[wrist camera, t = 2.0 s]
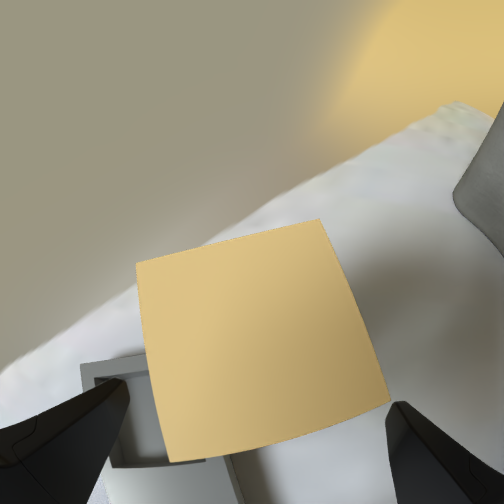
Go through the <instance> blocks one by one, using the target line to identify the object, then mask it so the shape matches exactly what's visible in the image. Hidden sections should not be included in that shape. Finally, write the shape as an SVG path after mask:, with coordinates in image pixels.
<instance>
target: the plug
mask: <svg viewBox="0 0 504 504" xmlns="http://www.w3.org/2000/svg"><path fill="white" fill-rule="evenodd" d="M136 273H137V285H138V296H139V305H140V314H141V322H142V330H143V337H144V344H145V351H146V357H147V363H148V369H149V374H150V380H151V385H152V390H153V395H154V400H155V405H156V409H157V414H158V418H159V422H160V426H161V430H162V434H163V438H164V442H165V446H166V450H167V453H168V457H169V460H170V462H180V461H189V460H196V459H203V458H210V457H216V456H222V455H227V454H232V453H237V452H242V451H247V450H251V449H256V448H260V447H264V446H268V445H272V444H276V443H279V442H283V441H286V440H290V439H293V438H297V437H300V436H303V435H306V434H309V433H312V432H315V431H318V430H321V429H324V428H327V427H330V426H332V425H335V424H338V423H340V422H343V421H346V420H348V419H351V418H353V417H356V416H358V415H360V414H363V413H365V412H367V411H370V410H372V409H374V408H376V407H379V406H381V405H383V404H385V403H387V402H389V401H391V398H390V395H389V392H388V389H387V386H386V383H385V380H384V377H383V374H382V371H381V368H380V365H379V362H378V359H377V356H376V354H375V351H374V348H373V345H372V343H371V340H370V337H369V335H368V332H367V329H366V327H365V324H364V321H363V319H362V316H361V314H360V311H359V309H358V306H357V304H356V301H355V299H354V296H353V294H352V291H351V289H350V286H349V284H348V282H347V279H346V277H345V275H344V272H343V270H342V268H341V265H340V263H339V261H338V258H337V256H336V254H335V252H334V249H333V247H332V245H331V243H330V240H329V238H328V236H327V234H326V232H325V230H324V227H323V225H322V223H321V221H320V219H316V220H311V221H307V222H303V223H298V224H294V225H290V226H285V227H281V228H277V229H273V230H268V231H264V232H260V233H256V234H251V235H247V236H243V237H239V238H235V239H231V240H226V241H222V242H218V243H214V244H210V245H206V246H202V247H198V248H194V249H190V250H186V251H182V252H178V253H174V254H170V255H166V256H162V257H158V258H154V259H150V260H146V261H142V262H139V263H136Z"/></svg>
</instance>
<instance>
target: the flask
mask: <svg viewBox="0 0 504 504" xmlns="http://www.w3.org/2000/svg"><path fill="white" fill-rule="evenodd" d="M453 200H454V202H455V205H456V207H457V209H458V210H459V211H460V212H461V214H462V215H463V216H464V217H466V218H467V219H468V220H469V221H470V222H472V223H473V224H474V225H475V226H476V227H477V228H479V229H480V230H481V231H482V232H483V233H484V234H485V235H486V236H487V237H488V238H489V239H490V240H491V242H492V243H493V244H494V245H495V246H496V247H497V249H498V250H499V251H500V252H501V254H502V255H503V256H504V102H503V105H502V107H501V109H500V111H499V113H498V115H497V117H496V119H495V121H494V123H493V124H492V126H491V128H490V130H489V132H488V134H487V136H486V137H485V139H484V141H483V143H482V145H481V146H480V148H479V150H478V152H477V153H476V155H475V157H474V158H473V160H472V162H471V163H470V165H469V167H468V168H467V170H466V172H465V173H464V175H463V176H462V178H461V180H460V181H459V183H458V184H457V186H456V187H455V189H454V191H453Z"/></svg>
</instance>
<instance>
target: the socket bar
mask: <svg viewBox="0 0 504 504" xmlns="http://www.w3.org/2000/svg"><path fill="white" fill-rule="evenodd" d="M80 371H81V380H82V387H83V393H84V392H86V391H88V390H90V389H92V388H94V387H95V386H97V385H99V384H101V383H103V382H105V381H107V380H109V379H111V378H113V377H117V378H121V379H124V380H125V381H126V383H127V386H128V390H129V394H130V403H129V406H128V409H127V411H126V414H125V417H124V420H123V423H122V426H121V429H120V432H119V435H118V437H117V439H116V441H115V443H114V446H113V448H112V450H111V452H110V454H109V456H108V458H107V460H106V462H105V465H104V467H103V469H102V471H101V473H100V474H101V477H102V481H103V484H104V487H105V490H106V493H107V496H108V499H109V502H110V504H245V501H244V498H243V495H242V492H241V489H240V486H239V483H238V480H237V477H236V474H235V471H234V468H233V464H232V461H231V458H230V455H229V454H227V455H222V456H216V457H210V458H203V459H196V460H189V461H180V462H170V460H169V457H168V453H167V450H166V446H165V442H164V438H163V434H162V430H161V426H160V422H159V418H158V414H157V409H156V405H155V400H154V395H153V390H152V385H151V380H150V374H149V369H148V363H147V357H146V354H141V355H135V356H129V357H124V358H117V359H111V360H105V361H98V362H91V363H84V364H80Z"/></svg>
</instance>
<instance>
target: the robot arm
mask: <svg viewBox="0 0 504 504" xmlns="http://www.w3.org/2000/svg"><path fill="white" fill-rule="evenodd" d="M129 403H130V394H129V390H128V386H127V383H126V381H125V380H124V379H121V378H117V377H113V378H111V379H109V380H107V381H105V382H103V383H101V384H99V385H97V386H95V387H94V388H92V389H90V390H88V391H86V392H84V393H82V394H80V395H78V396H76V397H73V398H71V399H69V400H67V401H65V402H63V403H61V404H59V405H57V406H55V407H53V408H51V409H49V410H47V411H44V412H42V413H40V414H38V415H36V416H34V417H31V418H29V419H27V420H24V421H22V422H20V423H17V424H14V425H11V426H9V427H6V428H2V429H0V504H87V502H88V499H89V497H90V495H91V493H92V491H93V488H94V486H95V484H96V482H97V480H98V477H99V475H100V473H101V471H102V469H103V467H104V465H105V462H106V460H107V458H108V456H109V454H110V452H111V450H112V448H113V446H114V443H115V441H116V439H117V437H118V435H119V432H120V429H121V426H122V423H123V420H124V417H125V414H126V411H127V409H128V406H129ZM385 427H386V435H387V445H388V455H389V462H390V467H391V472H392V477H393V482H394V487H395V492H396V498H397V503H398V504H504V475H503V474H501V473H499V472H498V471H496V470H494V469H493V468H491V467H490V466H488V465H487V464H485V463H484V462H482V461H481V460H480V459H478V458H477V457H476V456H474V455H473V454H472V453H470V452H469V451H468V450H467V449H465V448H464V447H463V446H461V445H460V444H459V443H458V442H456V441H455V440H454V439H452V438H451V437H450V436H449V435H447V434H446V433H445V432H444V431H442V430H441V429H440V428H439V427H437V426H436V425H435V424H433V423H432V422H431V421H430V420H428V419H427V418H426V417H425V416H423V415H422V414H421V413H420V412H418V411H417V410H416V409H415V408H413V407H412V406H411V405H410V404H408V403H407V402H406V401H396V402H394V403H393V404H392V406H391V408H390V410H389V412H388V415H387V417H386V420H385Z"/></svg>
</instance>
